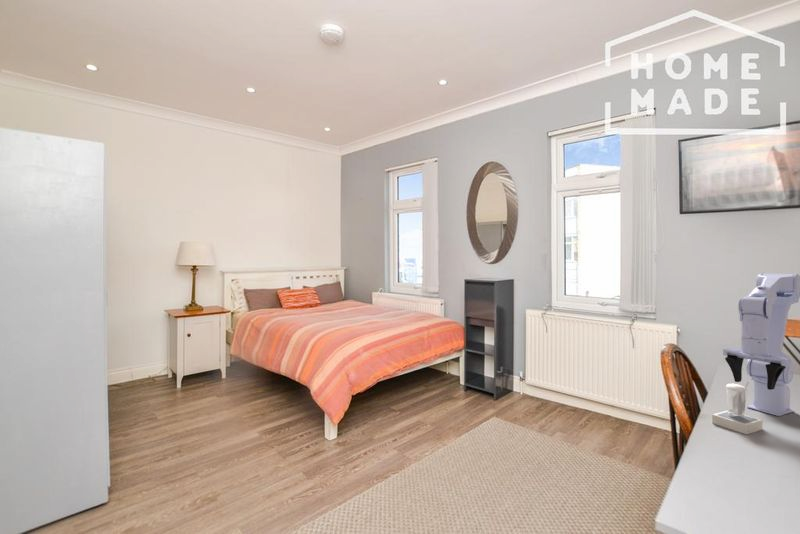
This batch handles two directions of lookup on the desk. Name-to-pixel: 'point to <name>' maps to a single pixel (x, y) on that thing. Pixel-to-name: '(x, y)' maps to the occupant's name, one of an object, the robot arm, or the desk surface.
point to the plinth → (737, 422)
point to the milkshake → (736, 400)
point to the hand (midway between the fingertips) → (753, 385)
